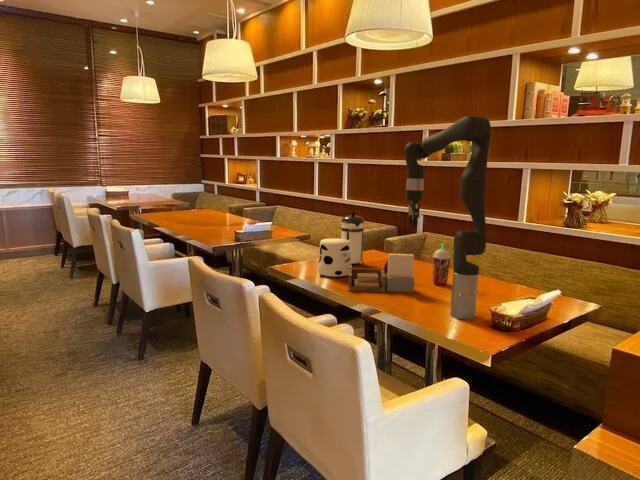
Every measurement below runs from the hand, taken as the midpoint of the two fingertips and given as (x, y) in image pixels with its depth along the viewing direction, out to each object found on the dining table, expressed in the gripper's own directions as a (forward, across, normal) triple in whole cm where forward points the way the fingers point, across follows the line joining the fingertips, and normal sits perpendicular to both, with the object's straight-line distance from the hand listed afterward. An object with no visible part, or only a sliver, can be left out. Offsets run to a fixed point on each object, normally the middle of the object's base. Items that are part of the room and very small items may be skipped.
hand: (412, 226), depth 199 cm
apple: (+30, +19, +5) cm, 36 cm away
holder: (+30, +1, +4) cm, 30 cm away
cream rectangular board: (+29, +1, +4) cm, 29 cm away
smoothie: (+30, +15, -17) cm, 38 cm away
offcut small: (+26, 0, +19) cm, 32 cm away
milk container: (+30, +25, +34) cm, 52 cm away
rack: (+30, +3, +20) cm, 36 cm away
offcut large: (+29, 0, +20) cm, 35 cm away
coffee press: (+29, +53, +25) cm, 66 cm away
